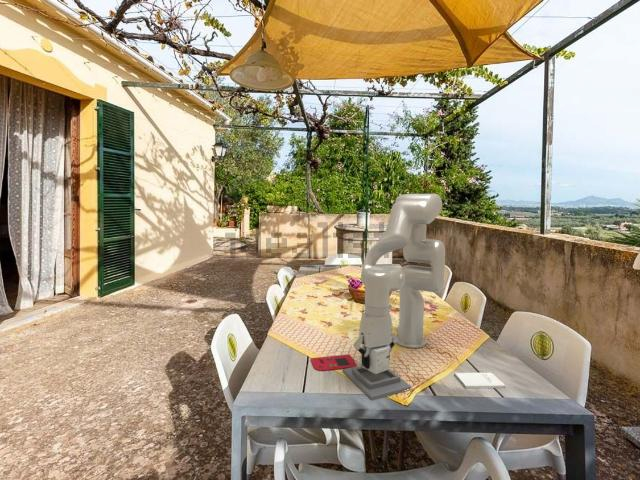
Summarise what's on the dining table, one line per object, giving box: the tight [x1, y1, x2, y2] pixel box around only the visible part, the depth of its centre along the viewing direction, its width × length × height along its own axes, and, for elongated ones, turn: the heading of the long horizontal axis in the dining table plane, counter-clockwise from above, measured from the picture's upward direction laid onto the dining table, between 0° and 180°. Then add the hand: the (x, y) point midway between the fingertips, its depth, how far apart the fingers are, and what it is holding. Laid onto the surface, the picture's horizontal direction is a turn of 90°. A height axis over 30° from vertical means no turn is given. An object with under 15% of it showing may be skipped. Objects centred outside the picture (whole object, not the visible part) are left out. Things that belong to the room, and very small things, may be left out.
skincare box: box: [363, 345, 390, 374], centre depth 108 cm, size 6×6×7 cm
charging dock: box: [342, 358, 412, 401], centre depth 109 cm, size 18×14×4 cm
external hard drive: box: [453, 372, 506, 390], centre depth 109 cm, size 2×8×12 cm
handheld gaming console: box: [310, 354, 357, 372], centre depth 121 cm, size 10×1×15 cm
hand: (375, 364), depth 108 cm, fingers closed on skincare box, 6 cm apart
